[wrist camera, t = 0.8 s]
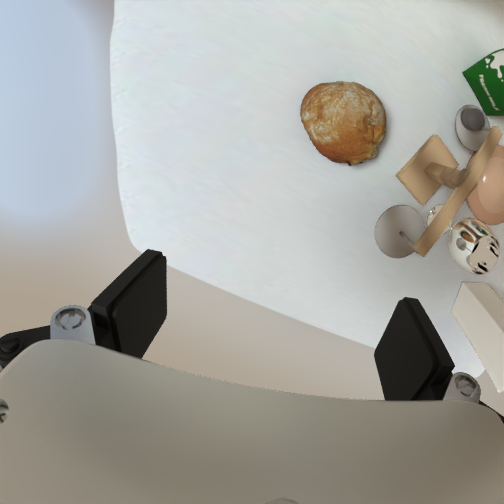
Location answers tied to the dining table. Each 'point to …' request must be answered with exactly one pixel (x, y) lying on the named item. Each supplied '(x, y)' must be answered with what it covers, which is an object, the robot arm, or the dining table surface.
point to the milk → (483, 326)
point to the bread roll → (344, 121)
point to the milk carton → (488, 82)
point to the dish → (489, 190)
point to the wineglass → (470, 243)
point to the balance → (436, 185)
